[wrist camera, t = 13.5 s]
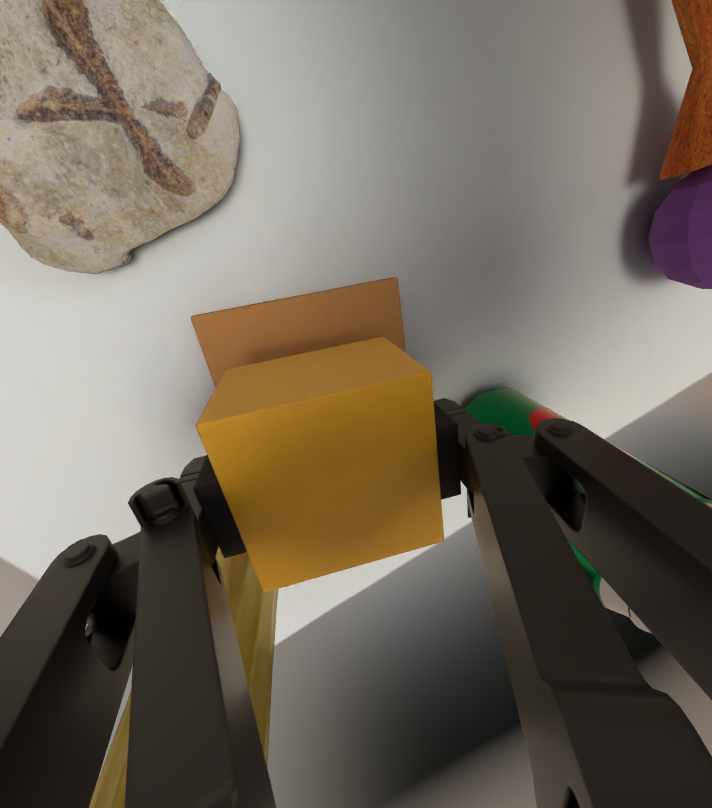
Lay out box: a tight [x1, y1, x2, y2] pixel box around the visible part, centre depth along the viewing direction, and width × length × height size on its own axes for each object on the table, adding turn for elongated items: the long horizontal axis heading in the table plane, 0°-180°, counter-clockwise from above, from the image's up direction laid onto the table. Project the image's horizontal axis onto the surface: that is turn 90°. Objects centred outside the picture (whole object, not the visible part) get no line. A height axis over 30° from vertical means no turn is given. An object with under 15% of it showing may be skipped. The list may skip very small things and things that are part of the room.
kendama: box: [648, 0, 712, 289], centre depth 13 cm, size 6×6×20 cm
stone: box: [0, 0, 240, 274], centre depth 12 cm, size 10×7×3 cm
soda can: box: [464, 388, 712, 633], centre depth 16 cm, size 5×5×12 cm
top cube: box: [196, 337, 444, 592], centre depth 12 cm, size 6×6×5 cm
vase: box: [89, 546, 278, 808], centre depth 15 cm, size 6×6×14 cm
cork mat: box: [191, 277, 405, 388], centre depth 18 cm, size 10×10×1 cm
